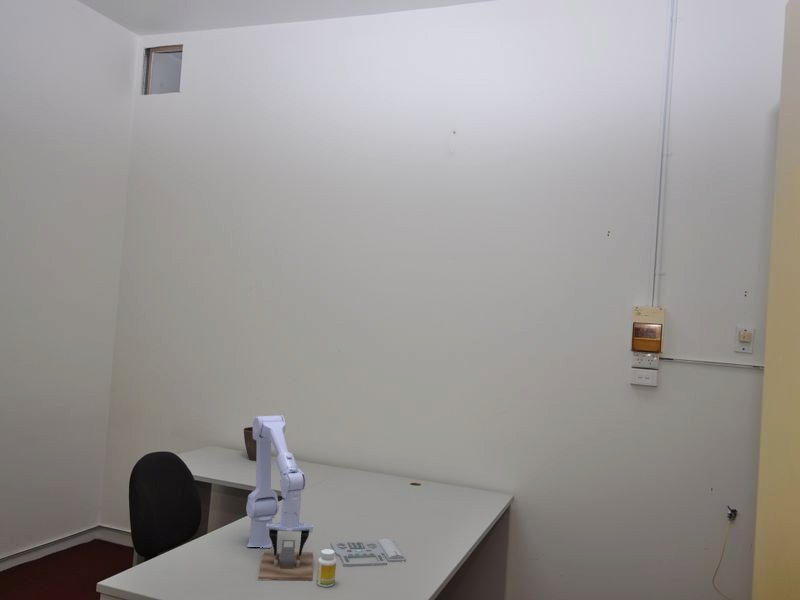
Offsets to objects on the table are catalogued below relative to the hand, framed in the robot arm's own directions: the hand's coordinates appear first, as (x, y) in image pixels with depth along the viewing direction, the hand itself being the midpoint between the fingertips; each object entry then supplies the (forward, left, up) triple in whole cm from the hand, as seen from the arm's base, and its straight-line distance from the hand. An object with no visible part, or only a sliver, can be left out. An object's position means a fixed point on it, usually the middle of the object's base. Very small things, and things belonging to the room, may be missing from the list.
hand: (287, 554), depth 199 cm
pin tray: (0, 0, -4) cm, 4 cm away
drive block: (0, 0, -3) cm, 3 cm away
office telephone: (-12, +27, -5) cm, 30 cm away
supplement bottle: (+12, +12, -4) cm, 17 cm away
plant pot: (-141, -23, -4) cm, 143 cm away
